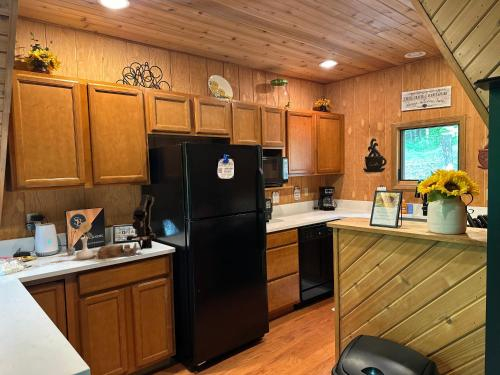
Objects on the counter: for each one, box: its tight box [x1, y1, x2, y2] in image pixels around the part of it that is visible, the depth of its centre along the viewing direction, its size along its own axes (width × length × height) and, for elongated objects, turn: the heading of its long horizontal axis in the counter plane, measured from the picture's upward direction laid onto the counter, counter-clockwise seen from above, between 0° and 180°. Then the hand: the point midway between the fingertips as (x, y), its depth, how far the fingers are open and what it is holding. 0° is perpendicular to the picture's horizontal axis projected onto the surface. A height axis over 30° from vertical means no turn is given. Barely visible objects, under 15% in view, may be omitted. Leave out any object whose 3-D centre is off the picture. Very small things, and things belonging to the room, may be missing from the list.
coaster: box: [123, 247, 133, 253], centre depth 236 cm, size 6×6×2 cm
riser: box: [123, 244, 131, 249], centre depth 249 cm, size 4×4×4 cm
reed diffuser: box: [62, 226, 80, 256], centre depth 239 cm, size 10×7×20 cm
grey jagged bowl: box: [121, 242, 138, 257], centre depth 236 cm, size 14×14×6 cm
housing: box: [97, 244, 124, 260], centre depth 234 cm, size 14×14×5 cm
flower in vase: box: [75, 220, 96, 260], centre depth 227 cm, size 13×11×25 cm
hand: (141, 249), depth 239 cm, fingers closed
